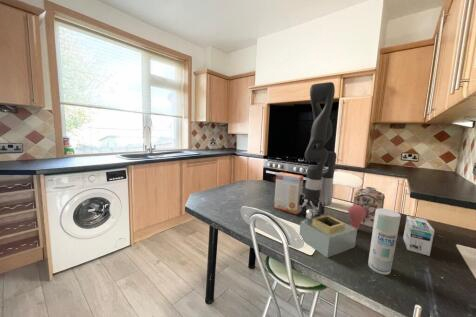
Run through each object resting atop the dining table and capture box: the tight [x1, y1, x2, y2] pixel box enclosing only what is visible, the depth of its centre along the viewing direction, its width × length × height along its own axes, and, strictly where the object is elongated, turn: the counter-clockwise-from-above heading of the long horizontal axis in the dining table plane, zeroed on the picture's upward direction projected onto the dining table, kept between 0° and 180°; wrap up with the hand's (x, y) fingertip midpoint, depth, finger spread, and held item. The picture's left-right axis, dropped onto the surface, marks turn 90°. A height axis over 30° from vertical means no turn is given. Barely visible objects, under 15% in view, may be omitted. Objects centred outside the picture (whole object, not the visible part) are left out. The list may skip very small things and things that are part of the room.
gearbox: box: [299, 214, 358, 258], centre depth 80 cm, size 16×14×9 cm
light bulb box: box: [402, 215, 435, 257], centre depth 79 cm, size 11×7×11 cm, turn 148°
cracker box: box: [273, 171, 304, 216], centre depth 110 cm, size 14×6×21 cm, turn 50°
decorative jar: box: [352, 186, 386, 229], centre depth 99 cm, size 12×12×18 cm
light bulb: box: [347, 204, 366, 231], centre depth 91 cm, size 7×7×12 cm
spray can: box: [367, 208, 402, 276], centre depth 65 cm, size 6×6×20 cm
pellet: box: [305, 208, 316, 220], centre depth 100 cm, size 4×4×5 cm
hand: (310, 217), depth 100 cm, fingers open, 8 cm apart
